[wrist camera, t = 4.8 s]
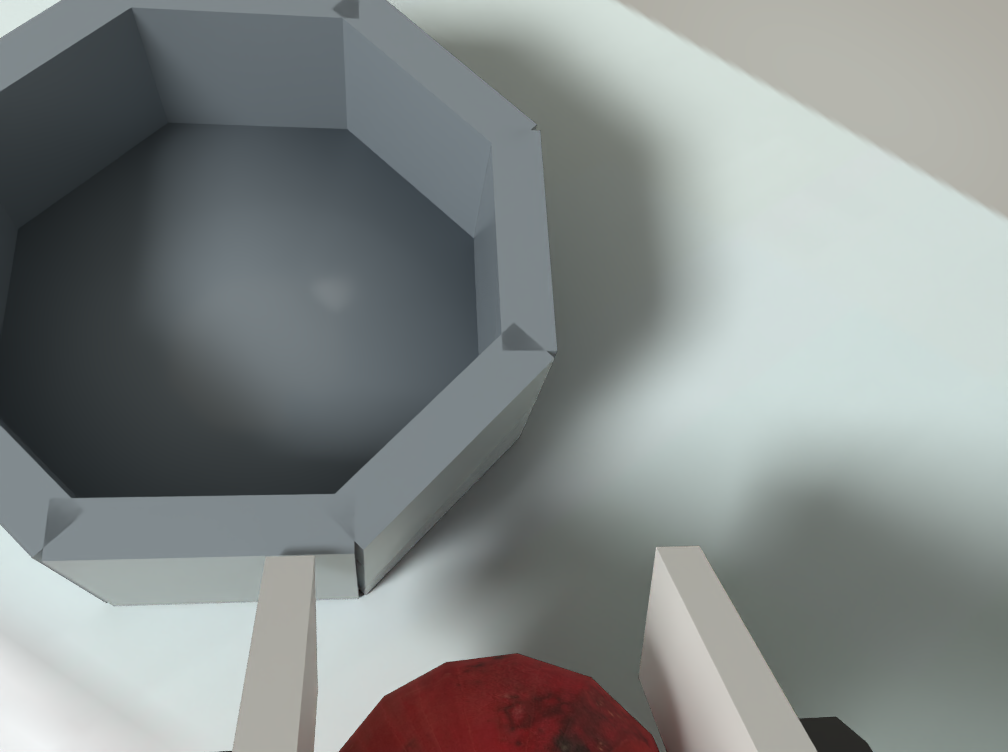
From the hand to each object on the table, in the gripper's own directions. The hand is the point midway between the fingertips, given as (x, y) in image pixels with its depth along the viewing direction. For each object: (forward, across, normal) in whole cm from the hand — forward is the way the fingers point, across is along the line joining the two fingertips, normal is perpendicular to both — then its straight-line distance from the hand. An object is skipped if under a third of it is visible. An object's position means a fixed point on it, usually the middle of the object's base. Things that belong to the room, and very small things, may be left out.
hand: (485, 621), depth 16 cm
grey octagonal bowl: (+8, -4, +2) cm, 9 cm away
